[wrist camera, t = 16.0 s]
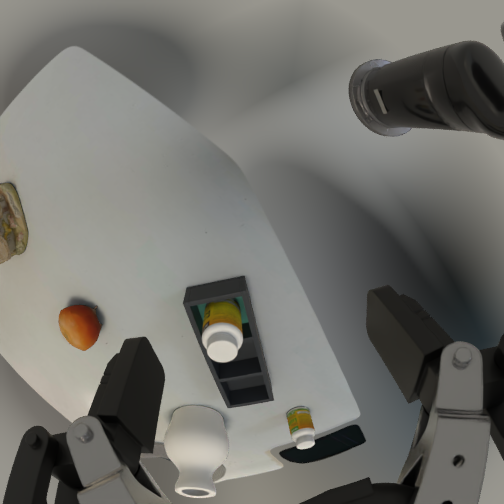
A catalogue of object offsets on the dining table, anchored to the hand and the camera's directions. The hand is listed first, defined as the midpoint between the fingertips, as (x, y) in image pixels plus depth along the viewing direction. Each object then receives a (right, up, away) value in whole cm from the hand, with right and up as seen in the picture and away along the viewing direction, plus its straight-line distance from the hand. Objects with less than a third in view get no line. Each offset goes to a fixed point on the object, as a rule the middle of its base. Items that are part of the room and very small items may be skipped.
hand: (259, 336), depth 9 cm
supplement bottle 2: (+10, -35, +48) cm, 60 cm away
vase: (-13, -36, +47) cm, 60 cm away
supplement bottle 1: (-5, -6, +34) cm, 35 cm away
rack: (-3, -13, +38) cm, 40 cm away
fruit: (-30, -8, +34) cm, 46 cm away
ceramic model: (-44, +8, +25) cm, 51 cm away
